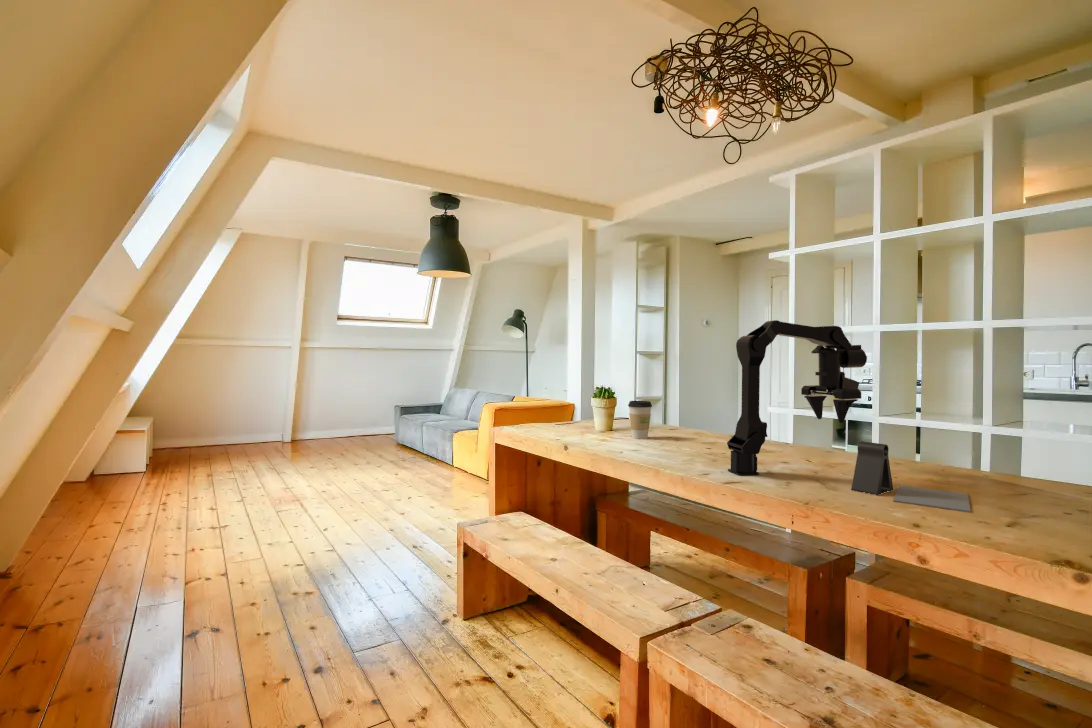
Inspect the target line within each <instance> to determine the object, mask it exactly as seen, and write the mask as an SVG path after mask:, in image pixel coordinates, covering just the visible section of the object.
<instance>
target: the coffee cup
mask: <svg viewBox="0 0 1092 728" xmlns="http://www.w3.org/2000/svg"><path fill="white" fill-rule="evenodd" d="M627 406H628V410H629V422H630V424H629V425H630V430H631V437H632V439H634V438H635V439H634V440H646V439H648V437H649V429H650V423H651V415H652V414H651V413H652V412H651V410H652V407H653V405H652V403H651V401H650V400H630V401H629V402H628V404H627Z"/></svg>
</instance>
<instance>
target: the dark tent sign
mask: <svg viewBox="0 0 1092 728" xmlns="http://www.w3.org/2000/svg"><path fill="white" fill-rule="evenodd" d="M889 451H890V450H889V445H888V444H887V443H885V444H884V443H878V442H871V441H869V442H868V441H859V442H858V443H857V456H856V462H855V468H854V473H853V478H852V483H851V491H853V490H854V492H858V491H859V493H863V492H865V493H864V494H868V493H870V494H869V495H873V494H876V495H875V496H879V495H878V494H881V493H884V492H887V491H890V492H892V491H891V490H893V491H894V484H893V479H892V477H893V476H892V471H891V464H890V459H889ZM887 493H888V492H887ZM884 494H885V493H884ZM881 495H882V494H881Z"/></svg>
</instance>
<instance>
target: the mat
mask: <svg viewBox="0 0 1092 728" xmlns="http://www.w3.org/2000/svg"><path fill="white" fill-rule="evenodd" d="M893 502H895V503H902V504H908V503H909V505H915V506H917V505H918V506H923V507H930V508H938V509H944V510H950V511H958V512H965V513H966V512H967V513H971V506H970V500H969V494H968V493H963V492H956V491H947V490H941V489H940V490H939V489H932V488H926V487H925V488H924V487H917V486H908V485H899V484H898V487H897V490H896V492H895V494H894V498H893Z"/></svg>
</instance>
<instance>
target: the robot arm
mask: <svg viewBox="0 0 1092 728" xmlns="http://www.w3.org/2000/svg"><path fill="white" fill-rule="evenodd" d="M777 336H782V337H788V338H796V339H802V340H806V341H809V342H810V343H812V344H814V345H816V347H815V348H814V349H812V351H811V354H818V371H815V372H814V373H815V376H818V384H817V385H816V384H814V385H813V384H812V385H811V384H810V385H803V386H802V387H801V395H803V397H804V399H806V401H807V402H808V405H809V406H810V407H811V409H812V411H813V413H814V415H815V417H816V418H817V419H818V420H822V418H823V408H824V401H825V400H826V398H827V397H828V396H833V397H834V399H833V406H834V410H835V413H836V417H837V420H838V423H839V424H843V423H844V422H845V420H846V417H847V415H848V411H849V409H850V407H851V405H852V404H853V403H855V402H858V401H859V399H862V391H861V389H859V385H860V383H861V382H860V381H857V380H854V379H851V378H850V377H847V376H846V374H845V371H841V368H842V369H850V368H851V369H853V368H863V367H864V366H865V365H866V364H867V360H868V356H867V354H866V351H865V350H864V349H863V348H862V345H861V344H851V342H850V341H849V340H848V338H847V337H846V335H845V334H844V331H843V329H842V327H840V326H839V325H823V326H812V325H810V326H809V325H805V324H798V323H791V322H785V321H780V320H778V319H776V320H767V321H765V322H764V323H763V324H761V325H760V326H759V327H757V328H755V329H754V330H752V331H750V332H749V333H748V334H746V335H743V336H741V337H740V338H739V339H737V340H736V342H735V343H736V344H735V347H736V355H737V358H738V360H739V363H740V365H741V413H740V417H739V419H738V421H737V423H736V426H735V427H736V428H735V432H734V434H733V436H731V438H730V439H729V440H727V442H726V445H727V447H728V450H730V468H727V471H728V472H731V473H733V474H736V475H739V476H753V475H760V472H759V471H758V457H757V455H759V454H760V451H761V448H762V447H763V445H764V443H765V441H766V438H768V433H767V429H768V424H767V422H765V421H762V420H761V417H760V381H761V379H760V377H761V372H760V371H761V364H762V363H763V361H764V359H765V357H766V352H767V347H768V346H769V345H771V344H772V343H773V341H774V340H775V338H776V337H777Z"/></svg>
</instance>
